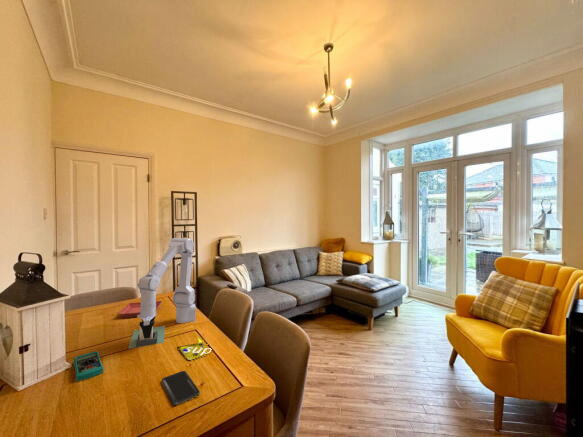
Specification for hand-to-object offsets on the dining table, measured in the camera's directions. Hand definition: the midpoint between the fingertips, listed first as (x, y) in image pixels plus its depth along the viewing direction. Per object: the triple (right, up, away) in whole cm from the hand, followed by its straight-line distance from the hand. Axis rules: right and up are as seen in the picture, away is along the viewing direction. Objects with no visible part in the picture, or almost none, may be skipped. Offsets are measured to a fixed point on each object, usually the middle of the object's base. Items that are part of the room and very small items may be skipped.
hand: (147, 335), depth 108 cm
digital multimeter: (-11, -4, -18) cm, 22 cm away
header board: (-2, -3, +5) cm, 6 cm away
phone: (+26, -5, -27) cm, 38 cm away
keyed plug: (0, -2, 0) cm, 2 cm away
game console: (+21, -5, -3) cm, 22 cm away
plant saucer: (-24, -4, +35) cm, 43 cm away
